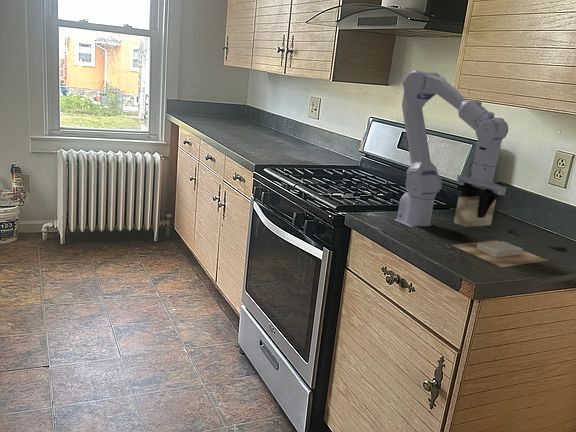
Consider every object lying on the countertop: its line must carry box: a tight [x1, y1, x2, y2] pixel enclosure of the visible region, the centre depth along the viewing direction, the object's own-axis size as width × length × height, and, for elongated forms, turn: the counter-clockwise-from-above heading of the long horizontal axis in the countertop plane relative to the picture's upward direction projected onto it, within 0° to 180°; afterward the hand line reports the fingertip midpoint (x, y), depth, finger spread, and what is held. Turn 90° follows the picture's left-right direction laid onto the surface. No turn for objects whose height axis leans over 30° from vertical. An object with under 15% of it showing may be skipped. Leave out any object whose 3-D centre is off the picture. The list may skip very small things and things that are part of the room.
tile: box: [477, 240, 524, 257], centre depth 140 cm, size 2×10×6 cm
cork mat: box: [451, 240, 549, 268], centre depth 140 cm, size 16×18×1 cm
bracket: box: [506, 228, 567, 252], centre depth 156 cm, size 14×15×3 cm
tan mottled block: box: [453, 195, 497, 228], centre depth 146 cm, size 4×10×7 cm, turn 121°
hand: (474, 214), depth 146 cm, fingers closed on tan mottled block, 4 cm apart
